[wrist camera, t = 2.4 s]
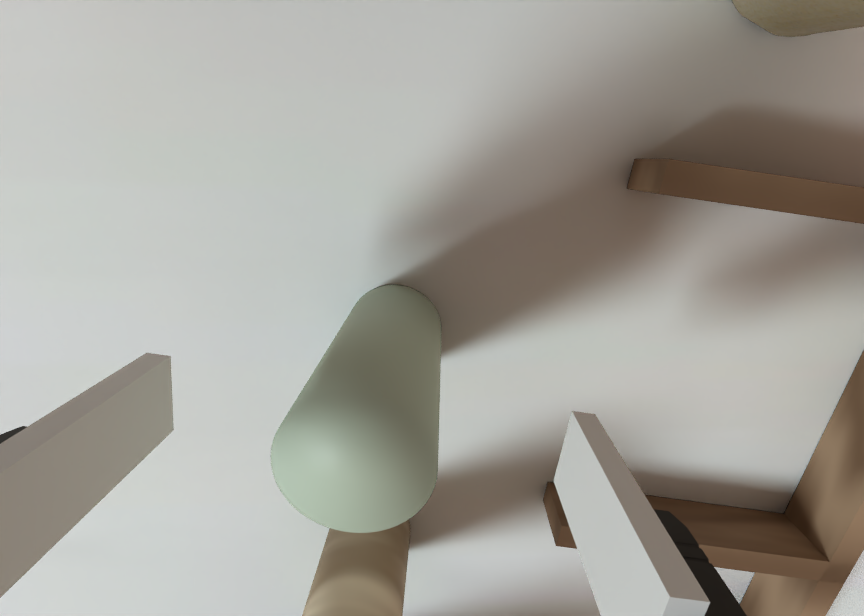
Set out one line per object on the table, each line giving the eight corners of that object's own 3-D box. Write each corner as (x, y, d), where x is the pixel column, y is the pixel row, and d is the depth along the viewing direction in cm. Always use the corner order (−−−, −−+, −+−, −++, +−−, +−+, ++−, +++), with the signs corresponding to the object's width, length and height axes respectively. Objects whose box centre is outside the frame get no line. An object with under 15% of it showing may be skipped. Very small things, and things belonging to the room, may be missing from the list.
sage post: (352, 278, 20) (272, 381, 11) (447, 291, 21) (449, 405, 11) (345, 364, 22) (268, 521, 12) (434, 376, 22) (425, 542, 12)
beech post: (335, 490, 24) (263, 702, 15) (415, 500, 24) (395, 718, 15) (329, 552, 26) (261, 781, 16) (405, 561, 26) (382, 796, 16)
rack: (634, 158, 18) (670, 158, 16) (963, 207, 19) (1059, 216, 16) (488, 700, 29) (493, 761, 26) (698, 727, 29) (726, 790, 27)
